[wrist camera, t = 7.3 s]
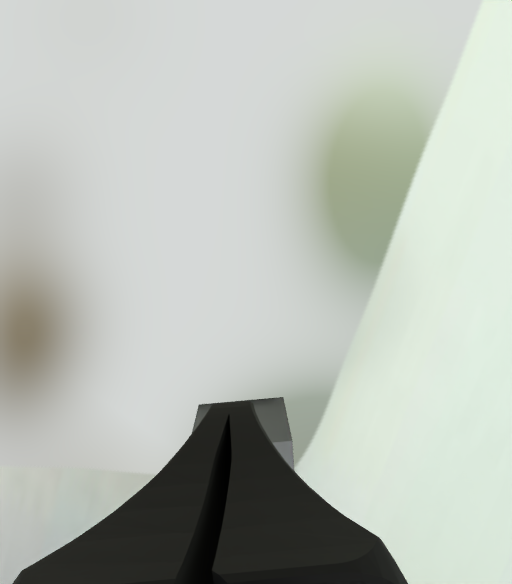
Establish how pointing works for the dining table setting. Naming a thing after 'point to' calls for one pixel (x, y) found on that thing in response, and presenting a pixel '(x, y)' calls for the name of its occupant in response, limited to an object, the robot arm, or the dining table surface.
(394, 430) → the dining table surface
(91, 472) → the dining table surface
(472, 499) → the dining table surface
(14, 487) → the dining table surface
